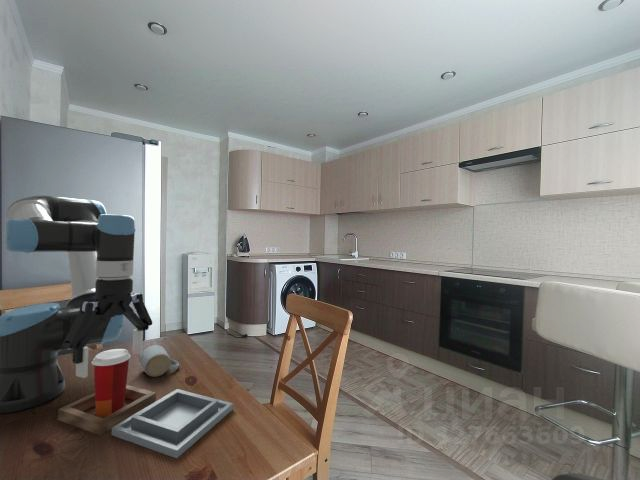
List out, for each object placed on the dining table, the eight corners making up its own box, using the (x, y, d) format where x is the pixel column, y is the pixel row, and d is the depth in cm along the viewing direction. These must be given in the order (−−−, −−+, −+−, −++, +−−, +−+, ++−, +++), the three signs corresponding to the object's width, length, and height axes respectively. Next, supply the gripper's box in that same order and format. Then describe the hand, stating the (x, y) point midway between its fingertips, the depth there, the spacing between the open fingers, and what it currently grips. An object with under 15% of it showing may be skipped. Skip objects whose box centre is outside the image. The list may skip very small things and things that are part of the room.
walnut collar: (57, 419, 68) (58, 409, 68) (117, 391, 81) (117, 382, 81) (100, 435, 64) (100, 423, 64) (155, 402, 77) (156, 392, 77)
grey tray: (111, 435, 64) (112, 420, 64) (177, 394, 81) (177, 383, 81) (176, 458, 58) (177, 442, 58) (232, 409, 75) (233, 397, 75)
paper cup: (126, 398, 78) (128, 345, 78) (130, 412, 72) (132, 355, 72) (89, 408, 73) (91, 352, 73) (90, 424, 67) (92, 363, 67)
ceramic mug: (144, 381, 87) (146, 355, 87) (138, 371, 93) (140, 347, 93) (182, 372, 95) (183, 348, 95) (174, 363, 101) (175, 340, 101)
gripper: (67, 285, 59) (63, 391, 59) (168, 273, 83) (165, 349, 83) (43, 282, 62) (39, 384, 62) (148, 272, 85) (145, 345, 85)
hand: (111, 364), depth 72 cm, fingers open, 13 cm apart
